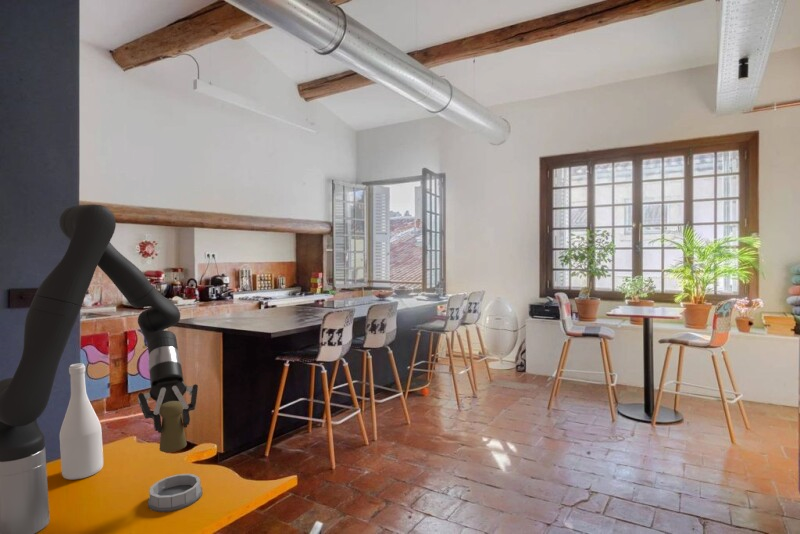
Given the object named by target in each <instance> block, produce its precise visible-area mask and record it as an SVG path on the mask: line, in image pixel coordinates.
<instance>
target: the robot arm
mask: <svg viewBox="0 0 800 534" xmlns="http://www.w3.org/2000/svg"><path fill="white" fill-rule="evenodd" d="M116 222H117V221H116V217H115V215H114V212H112V210H111V209H110V208H109V207H107V206H105V205H102V204H81V205H79V204H78V205H73V206H69V207H67V208H66V209H64V210H63V212H62V213H61V214H60V217H59V223H58V225H59V227H60V228H59V229H60V230H61V232H62V233H63V234H64V236H65V237H67V238H68V240H69V241H70V242H69V245H68V247H67V249H66V252H65V253H64V256H63V257H62V258H61V259H60V260H59V261H60V262H58V264H57V265H55V267H54V268H53V269H52V270H51V272H50V273H49V274H48V275H47V276H46V277H45V278H44V280H43V281H42V282H41V283H40V285H39V286H38V288H37V290H36V292H35V294H34V296H33V299H32V301H31V304H30V306H29V309H28V310H27V314H26V317H25V321H24V333H23V349H22V353H21V359H20V361H19V364H18V366H17V367H16V370H15V372H14V374H13V377H9V378H4V379H2V380H0V534H36V533H38V532H40V531H42V530H43V529H45V528H46V527H47V526H48V525H49V523H50V507H49V506H50V505H49V503H50V502H49V488H48V487H49V486H48V485H49V484H48V473H47V457H46V455H47V454H46V442H45V441H46V440H45V435H44V432H43V431H42V430H41V429H40V426H39V425H38V421H37V419H38V418H39V417H40V416H41V415H42V414H43V413H44V411H45V410H46V408H47V406H48V403H49V402H50V398H51V394H52V390H53V385H54V382H55V378H56V374H57V371H58V368H59V364H60V362H61V358H62V356H63V353H64V351H65V349H66V346H67V344H68V341H69V339H70V336H71V333H72V332H73V331H72V330H73V328H74V326H75V324H76V322H77V320H78V316H79V315H80V312H81V310H82V306H83V304H84V299H85V297H86V295H87V292H88V290H89V287H90V285H91V283H92V281H93V277H94V274H95V272H96V269H97V267H98V268H100V270H101V271H102V272H103V273H104V274H105V275H106V276H107V277H108V278H109V280H110V281H111V282H112V283H113V284H114V285H115V287H116V288H117V289H118V291H119V292H120V293H121V294H122V295H123V296H124V299H126V301H127V302H128V303H129V304H130V305H131V306H132V307H133V308H134V309H142V308H143V309H144V308H148V307H149V308H148V309H145V310H143V311H142V312H140V313H139V315H138V318H137V325H138V326H139V328H140V331H141V332H142V334H143V336H144V339H145V341H146V344H147V351H148V352H147V353H148V373H149V381H150V390H149V391H148V392H146V393H143V392H139V393H138V395H137V402H138V404H139V407H140V410H141V412H142V414H143V416H144V418H145V419H153V426H154V427H153V428H154V431H155V432H157V433H158V434H161V432H162V417H161V415H160V412H159V410H160V407H161V405H162V404H164V403H166V402H170V401H179V402H181V403H182V405H183V412H182V414H181V417H182V422H183V427H184V429H185V428H188V425H190V422H191V418H190V411H194V410H196V405H197V397H198V389H199V388H198V387H199V386H198V384H193V385H187V384H186V383H185V382H184V381H185V380H184V374H183V367H182V361H181V357H180V354H179V349H178V342H177V337H176V334H175V333H174V332H172V331H171V330H166V329H169V328H172V327H174V326H176V325H177V324H178V323H180V320H181V312H180V310H179V308H178V307H177V305H176V304H175V303H174V302H172V301H171V300H170V299H168V298H167V297H165V296H164V295H163V294H161V292H159V291H158V290H157V289H155V287H154V286H153V284H152V283H151V282H150V281H149V279H148V278H147V276H146V275H145V274H144V273H143V272H142V270H141V269H139V268H138V266H136V265H135V264H134V263H133V262H131V260H129V259H128V258H127V257H126V256H124V255H123V254H122V253H121V252H120V251H118V250H117V248H116V247H115V246H114V245H113V244H112V243H111V240H112V238H113V237H114V233H115V230H116V224H117V223H116ZM186 392H187V393H188V395H190V396H191V397H190V402H189V403H187V401H186V399H185V398H184V395H185V393H186ZM150 398H151V399H152V400H153V401H154V402H155V407H154V409H153V410H151V409H150V406H149V404H148V402H149V399H150Z"/></svg>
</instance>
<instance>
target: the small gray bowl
mask: <svg viewBox="0 0 800 534" xmlns="http://www.w3.org/2000/svg"><path fill="white" fill-rule="evenodd" d="M201 483H202V481H201V479H200V477H199V476H198V475H196V474H192V473H179V474H174V475H171V476H167V477H164V478H162V479H160V480H158V481H156V482H154V484H152V486H150V488H149V489H148V490H149V498H148V500H147V506H148V508H149V510H151V511H153V512H158V513H168V512H169V513H170V512H176V511H179V510H182V509H186V508H188V507H189V506H191V505H193V504H195V503H196V502H198V501H199V500H200V499H201V497H202V496H203V488H202V484H201Z"/></svg>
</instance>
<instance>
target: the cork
mask: <svg viewBox="0 0 800 534" xmlns="http://www.w3.org/2000/svg"><path fill="white" fill-rule="evenodd" d="M159 412H160V417H161V426H162V432H161V433H160V440H159V441H160V442H159V451H160V452H162V453H173V452H174V453H175V452H177V451H181V450H182V449H184V448H186V447H187V445H188V443H187V438H186V433H185V428H184V426H183V419H182V412H183V405H182V403H181V402H179V401H170V402H166V403H164V404H162V405H161V407H160V410H159Z"/></svg>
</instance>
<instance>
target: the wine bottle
mask: <svg viewBox="0 0 800 534" xmlns="http://www.w3.org/2000/svg"><path fill="white" fill-rule="evenodd" d="M85 372H86V365H85V363H72V364H70V365H69V367H68V373H69V375H70V397H69V403H68V406H67V409H66V411H65V415H64V418H63V421H62V424H61V427H60V431H59V451H60V463H61V464H60V465H61V476H62V477H63V478H64V479H66V480H72V481H73V480H81V479H85V478H89V477H92V476H93V475H95V474H97V473H99V472H100V471H101V470H102V468H103V467H104V451H103V434H102V432H103V431H102V424H101V422H100V419H99V417H98V415H97V414H96V412H95V409H94V407H93V406H92V403H91V402H90V399H89V396H88V394H87V388H86V387H87V386H86V376H85V375H86V374H85Z"/></svg>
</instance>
